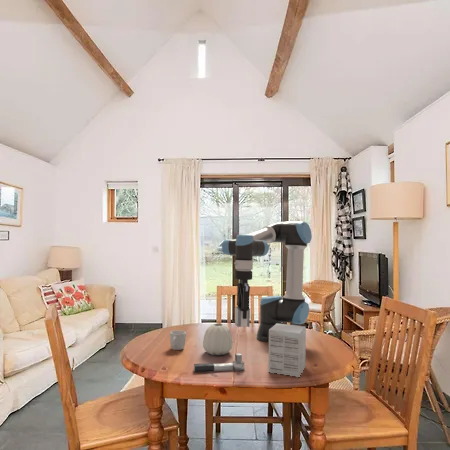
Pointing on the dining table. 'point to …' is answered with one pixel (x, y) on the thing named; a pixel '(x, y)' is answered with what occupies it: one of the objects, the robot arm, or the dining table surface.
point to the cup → (177, 339)
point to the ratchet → (221, 365)
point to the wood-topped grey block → (238, 317)
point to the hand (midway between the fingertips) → (242, 324)
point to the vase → (217, 340)
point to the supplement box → (287, 349)
